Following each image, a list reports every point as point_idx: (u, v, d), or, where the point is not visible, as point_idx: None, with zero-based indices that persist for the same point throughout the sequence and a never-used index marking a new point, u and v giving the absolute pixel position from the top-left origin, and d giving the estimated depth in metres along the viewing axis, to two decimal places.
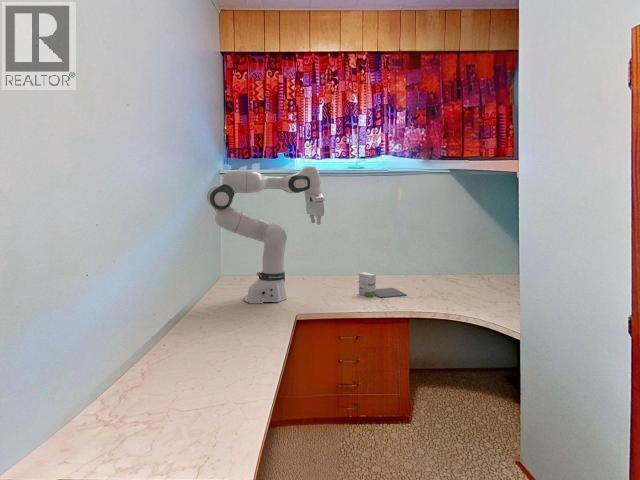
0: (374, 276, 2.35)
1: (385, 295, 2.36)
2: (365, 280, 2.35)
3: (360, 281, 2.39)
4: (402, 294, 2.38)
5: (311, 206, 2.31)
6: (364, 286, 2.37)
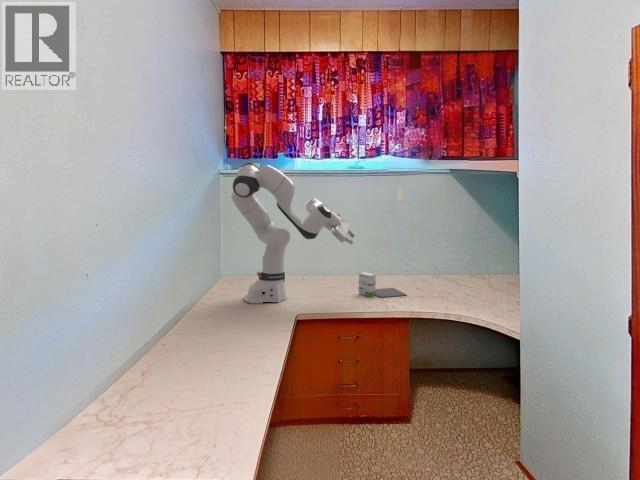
0: (374, 276, 2.35)
1: (385, 295, 2.36)
2: (365, 280, 2.35)
3: (360, 281, 2.39)
4: (402, 294, 2.38)
5: (341, 226, 2.27)
6: (364, 286, 2.37)
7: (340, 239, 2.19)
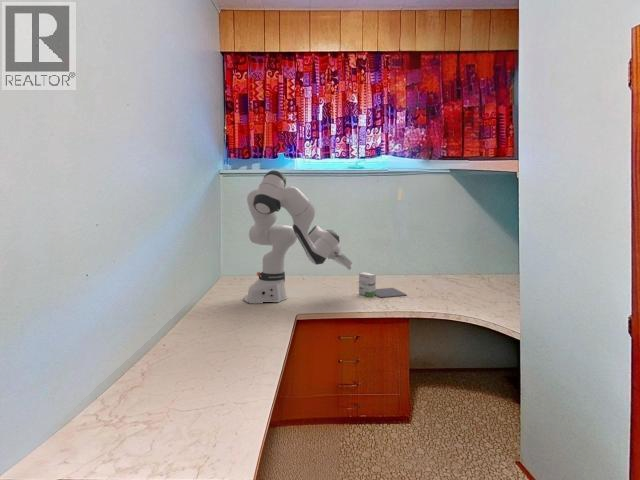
0: (374, 276, 2.35)
1: (385, 295, 2.36)
2: (365, 280, 2.35)
3: (360, 281, 2.39)
4: (402, 294, 2.38)
5: None
6: (364, 286, 2.37)
7: (347, 264, 2.21)
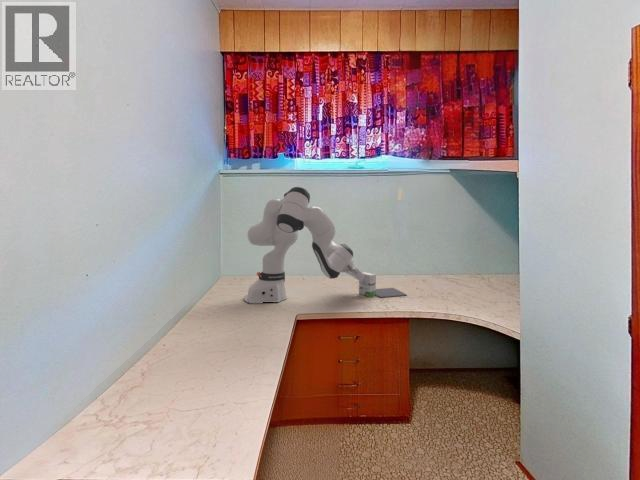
0: (374, 276, 2.35)
1: (385, 295, 2.36)
2: (365, 279, 2.35)
3: None
4: (402, 294, 2.38)
5: None
6: (364, 286, 2.37)
7: (360, 278, 2.25)
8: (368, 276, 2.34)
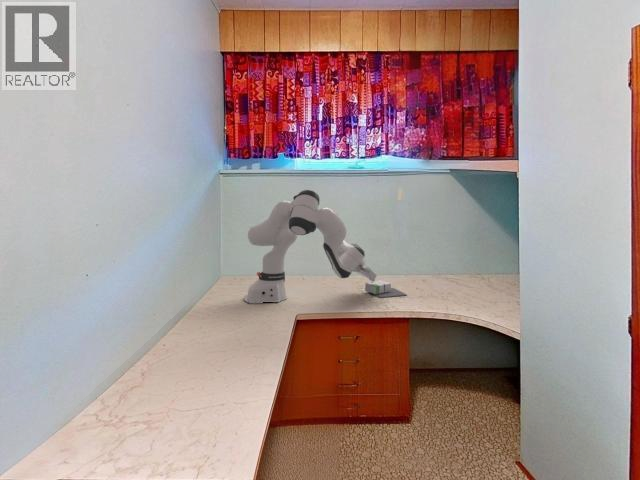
0: (389, 290, 2.43)
1: (385, 295, 2.36)
2: (383, 282, 2.44)
3: (376, 281, 2.46)
4: (402, 294, 2.38)
5: None
6: (377, 283, 2.42)
7: (371, 277, 2.27)
8: (388, 283, 2.43)
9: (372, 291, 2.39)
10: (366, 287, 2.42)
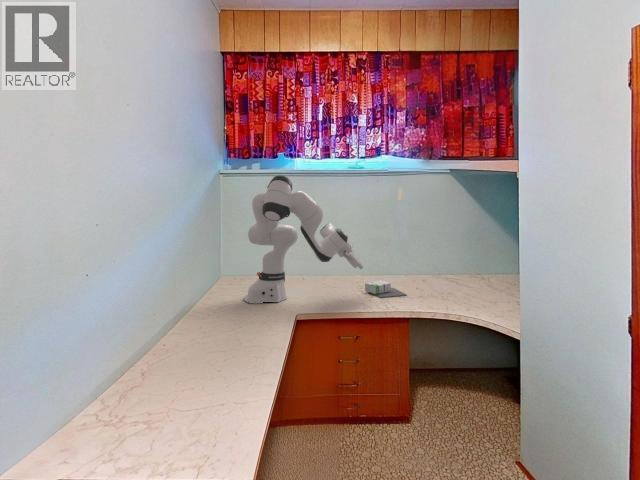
0: (389, 289, 2.43)
1: (385, 295, 2.36)
2: (383, 282, 2.44)
3: (376, 281, 2.46)
4: (402, 294, 2.38)
5: (352, 253, 2.30)
6: (377, 283, 2.42)
7: (353, 264, 2.21)
8: (388, 282, 2.44)
9: (372, 291, 2.39)
10: (366, 287, 2.42)
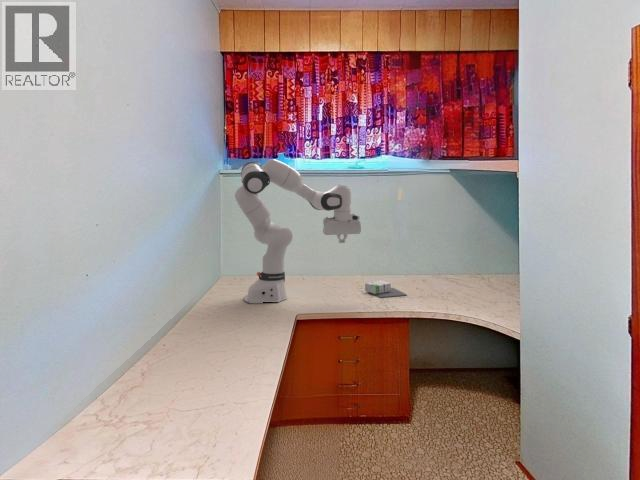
0: (389, 289, 2.43)
1: (385, 295, 2.36)
2: (383, 282, 2.44)
3: (376, 281, 2.46)
4: (402, 294, 2.38)
5: (342, 225, 2.28)
6: (377, 283, 2.42)
7: (323, 230, 2.27)
8: (388, 282, 2.44)
9: (372, 291, 2.39)
10: (366, 287, 2.42)
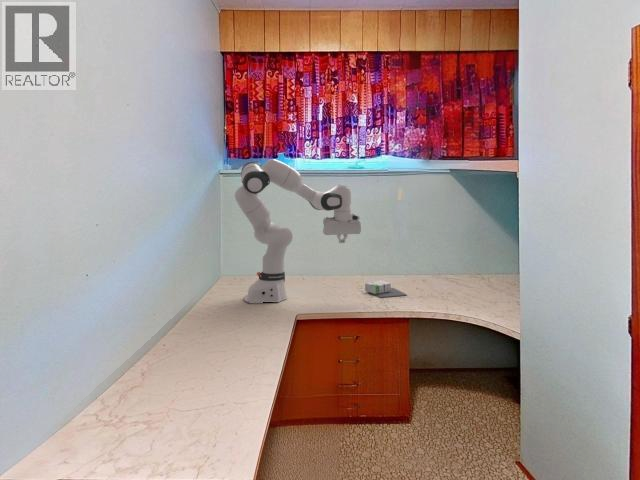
0: (389, 289, 2.43)
1: (385, 295, 2.36)
2: (383, 282, 2.44)
3: (376, 281, 2.46)
4: (402, 294, 2.38)
5: (342, 225, 2.28)
6: (377, 283, 2.42)
7: (323, 230, 2.27)
8: (388, 282, 2.44)
9: (372, 291, 2.39)
10: (366, 287, 2.42)
